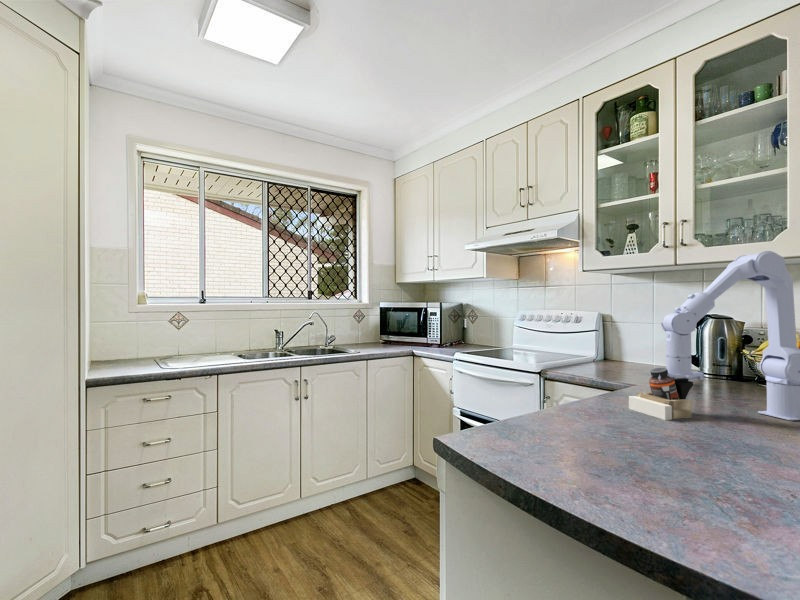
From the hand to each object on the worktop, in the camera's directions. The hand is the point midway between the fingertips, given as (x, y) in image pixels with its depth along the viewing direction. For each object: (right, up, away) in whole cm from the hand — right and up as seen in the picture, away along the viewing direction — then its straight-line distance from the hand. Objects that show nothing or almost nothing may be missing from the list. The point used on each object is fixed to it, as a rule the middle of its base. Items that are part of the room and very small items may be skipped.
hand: (679, 406), depth 112 cm
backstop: (-9, -1, -2) cm, 10 cm away
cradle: (-5, -1, -1) cm, 5 cm away
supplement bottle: (-3, -1, 0) cm, 3 cm away
